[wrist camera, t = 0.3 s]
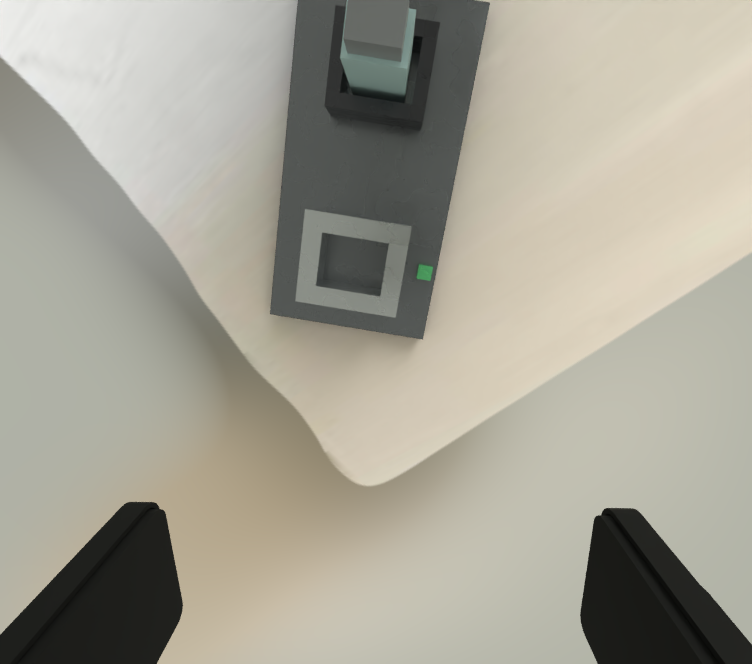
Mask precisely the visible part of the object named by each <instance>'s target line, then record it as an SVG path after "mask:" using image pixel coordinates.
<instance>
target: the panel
mask: <svg viewBox="0 0 752 664" xmlns="http://www.w3.org/2000/svg"><path fill="white" fill-rule="evenodd" d="M346 3H347V0H298V6H297V17H296V28H295V40H294V51H293V62H292V73H291V85H290V96H289V107H288V118H287V130H286V141H285V152H284V164H283V175H282V186H281V197H280V209H279V220H278V231H277V242H276V254H275V265H274V276H273V288H272V299H271V310H270V314H273V315H279V316H285V317H291V318H297V319H303V320H309V321H315V322H321V323H327V324H333V325H339V326H346V327H352V328H358V329H364V330H370V331H376V332H382V333H388V334H394V335H400V336H406V337H412V338H418V339H423V335H424V330H425V325H426V320H427V315H428V310H429V305H430V300H431V295H432V290H433V285H434V280H435V275H436V270H437V265H438V260H439V255H440V250H441V245H442V240H443V235H444V230H445V225H446V220H447V215H448V210H449V205H450V200H451V195H452V190H453V185H454V180H455V175H456V170H457V165H458V160H459V155H460V150H461V145H462V140H463V135H464V130H465V125H466V120H467V115H468V110H469V105H470V100H471V95H472V90H473V85H474V80H475V75H476V70H477V65H478V60H479V55H480V50H481V45H482V40H483V35H484V30H485V25H486V20H487V15H488V10H489V5H490V3H488V2H482V1H476V0H409V8H410V9H416V17H415V27H414V37H413V47H412V57H411V65H410V71H409V78H408V84H407V90H406V96H405V103H400V102H394V101H388V100H382V99H376V98H370V97H364V96H358V95H353V94H352V91H351V88H350V85H349V82H348V79H347V76H346V73H345V70H344V68H343V65H342V62H341V59H340V55H341V46H342V38H343V29H344V20H345V12H346Z"/></svg>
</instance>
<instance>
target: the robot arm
mask: <svg viewBox="0 0 752 664" xmlns="http://www.w3.org/2000/svg"><path fill="white" fill-rule="evenodd" d="M182 606H183V603H182V597H181V592H180V587H179V581H178V577H177V571H176V566H175V560H174V555H173V550H172V545H171V540H170V534H169V530H168V524H167V519H166V514H165V512H164V510H161V509H159V506H158V505H157V504H156V503H154V502H128V503H126V504H124V506H122V507H121V508H120V509H119V510H118V511H117V512H116V513H115V515H113V517H112V518H111V519H110V520H109V521H108V522H107V523H106V524H105V525H104V526H103V527H102V528H101V529H100V530H99V531H98V532H97V533H96V534H95V535H94V537H93V538H92V539H91V540H90V541H89V542H88V543H87V544H86V545H85V546H84V547H83V548H82V549H81V550H80V551H79V552H78V553H77V555H76V556H75V557H74V558H73V559H72V560H71V561H70V562H69V563H68V564H67V565H66V566H65V567H64V568H63V569H62V570H61V571H60V572H59V573H58V574H57V576H56V577H55V578H54V579H53V580H52V581H51V582H50V583H49V584H48V585H47V586H46V587H45V588H44V589H43V590H42V592H40V594H39V595H38V596H37V597H36V598H35V599H34V600H33V601H32V602H31V603H30V604H29V605H28V606H27V607H26V608H25V609H24V610H23V612H21V613H20V615H19V616H18V617H17V618H16V619H15V620H14V621H13V622H12V623H11V624H10V625H9V626H8V627H7V628H6V629H5V631H3V633H2V634H1V635H0V664H157V662H158V660H159V658H160V656H161V654H162V652H163V650H164V649H165V647H166V645H167V643H168V641H169V639H170V638H171V636H172V634H173V632H174V630H175V628H176V626H177V624H178V622H179V620H180V617H181V614H182ZM580 616H581V624H582V628H583V631H584V634H585V636H586V639H587V641H588V643H589V645H590V647H591V649H592V652H593V654H594V656H595V658H596V661H597V663H598V664H752V644H751V643H750V642H749V641H748V640H747V638H746V637H745V636H744V635H743V634H742V633H741V631H740V630H739V629H738V628H737V627H736V625H735V624H734V623H733V622H732V621H731V620H730V618H729V617H728V616H727V615H726V613H725V612H724V611H723V610H722V609H721V607H720V606H719V605H718V604H717V603H716V601H715V600H714V599H713V598H712V597H711V595H710V594H709V593H708V592H707V591H706V590H705V589H704V588H703V587H702V586H701V585H699V583H698V582H697V581H696V579H695V578H694V577H693V576H692V575H691V574H690V572H689V571H688V570H687V569H686V567H685V566H684V565H683V564H682V563H681V561H680V560H679V559H678V558H677V557H676V555H675V554H674V553H673V552H672V551H671V550H670V548H669V547H668V546H667V545H666V544H665V542H664V541H663V540H662V539H661V537H660V536H659V535H658V534H657V533H656V531H655V530H654V529H653V528H652V527H651V525H650V524H649V523H648V522H647V521H646V519H645V518H644V517H643V516H642V515H641V513H640V512H638V511H637V510H636V509H631V508H629V509H628V508H606V509H604V510H603V512H602V515H601V516H596V517H595V519H594V524H593V531H592V538H591V544H590V551H589V558H588V565H587V572H586V579H585V585H584V592H583V599H582V606H581V614H580Z"/></svg>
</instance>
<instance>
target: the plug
mask: <svg viewBox="0 0 752 664" xmlns="http://www.w3.org/2000/svg"><path fill="white" fill-rule="evenodd" d="M415 17H416V9H410V8H409V0H347V3H346V12H345V20H344V29H343V38H342V46H341V55H340V59H341V62H342V65H343V68H344V70H345V73H346V76H347V79H348V82H349V85H350V88H351V91H352V94H353V95H358V96H364V97H370V98H376V99H382V100H388V101H394V102H400V103H405V96H406V90H407V84H408V78H409V71H410V65H411V57H412V47H413V37H414V27H415Z"/></svg>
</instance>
